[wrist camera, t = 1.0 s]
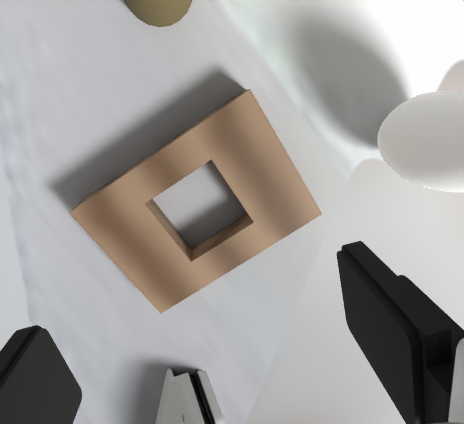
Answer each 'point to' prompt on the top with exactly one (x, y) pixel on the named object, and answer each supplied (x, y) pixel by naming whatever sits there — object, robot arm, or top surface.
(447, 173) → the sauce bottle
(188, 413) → the grey piece
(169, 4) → the cork
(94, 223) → the tan flat frame
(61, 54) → the top surface
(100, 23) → the top surface
